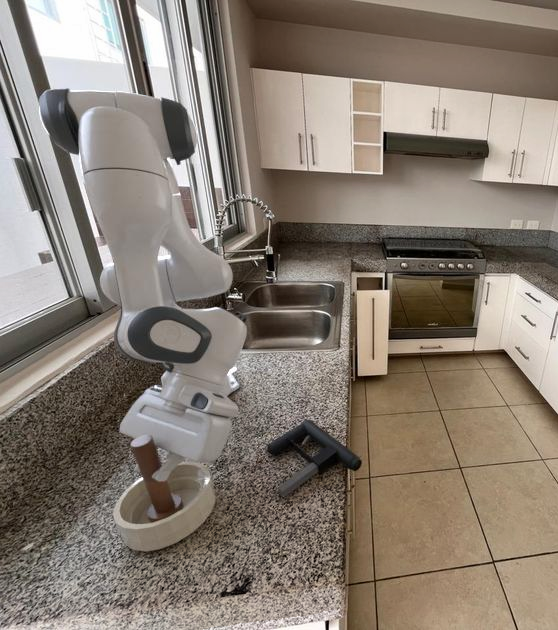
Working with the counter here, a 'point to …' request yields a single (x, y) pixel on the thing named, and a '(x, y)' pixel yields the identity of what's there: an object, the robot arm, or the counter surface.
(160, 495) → the stirring stick
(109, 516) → the counter surface
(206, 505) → the bowl
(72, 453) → the counter surface
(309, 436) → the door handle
